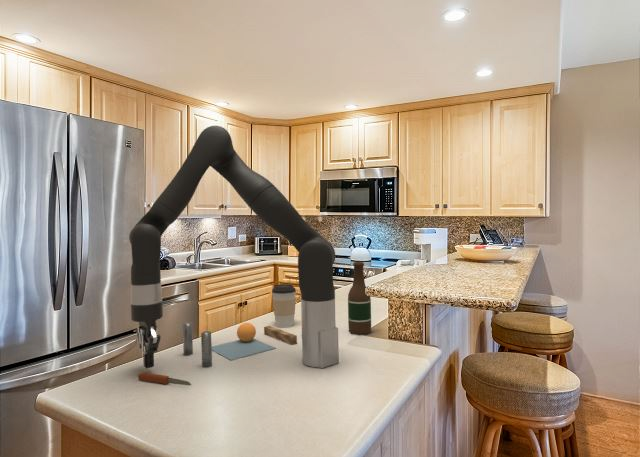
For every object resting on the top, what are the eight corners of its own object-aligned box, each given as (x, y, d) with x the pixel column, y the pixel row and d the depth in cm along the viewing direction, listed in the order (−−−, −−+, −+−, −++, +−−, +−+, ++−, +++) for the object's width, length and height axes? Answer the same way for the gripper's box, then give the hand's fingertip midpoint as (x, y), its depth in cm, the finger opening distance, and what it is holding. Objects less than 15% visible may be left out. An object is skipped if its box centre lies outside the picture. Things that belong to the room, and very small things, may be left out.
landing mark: (276, 348, 119) (276, 347, 119) (230, 360, 109) (230, 359, 109) (250, 337, 130) (250, 337, 130) (207, 348, 121) (207, 347, 121)
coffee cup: (298, 321, 150) (297, 282, 150) (294, 328, 141) (293, 286, 141) (275, 321, 151) (274, 282, 150) (270, 328, 142) (269, 286, 141)
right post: (213, 365, 106) (212, 332, 105) (204, 368, 104) (203, 334, 104) (209, 363, 108) (208, 330, 107) (200, 365, 106) (199, 332, 106)
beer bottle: (370, 335, 130) (369, 263, 129) (347, 335, 131) (345, 263, 131) (372, 329, 137) (370, 260, 137) (350, 328, 139) (348, 260, 138)
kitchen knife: (137, 381, 97) (137, 373, 97) (142, 379, 98) (141, 371, 98) (189, 390, 91) (189, 381, 91) (193, 387, 92) (193, 379, 92)
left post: (194, 353, 116) (193, 323, 116) (185, 355, 114) (184, 325, 114) (190, 351, 118) (190, 321, 118) (182, 353, 116) (181, 323, 116)
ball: (261, 326, 127) (248, 324, 123) (256, 345, 126) (242, 343, 122) (250, 321, 131) (236, 319, 127) (244, 339, 130) (230, 337, 126)
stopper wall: (296, 343, 123) (296, 335, 123) (291, 344, 122) (291, 336, 122) (269, 333, 136) (269, 325, 136) (264, 334, 134) (264, 326, 134)
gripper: (170, 302, 99) (172, 370, 100) (153, 295, 110) (155, 357, 110) (138, 307, 95) (141, 378, 95) (124, 299, 105) (126, 364, 105)
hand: (148, 367), depth 102 cm, fingers closed
